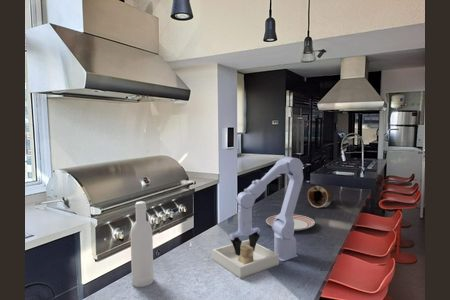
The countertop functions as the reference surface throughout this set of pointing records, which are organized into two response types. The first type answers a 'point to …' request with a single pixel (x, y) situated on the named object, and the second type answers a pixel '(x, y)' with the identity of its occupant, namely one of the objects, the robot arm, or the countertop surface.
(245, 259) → the maple block
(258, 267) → the bin
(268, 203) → the countertop surface
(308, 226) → the dinner plate
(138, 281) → the bottle
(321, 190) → the clay pot
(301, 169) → the robot arm
